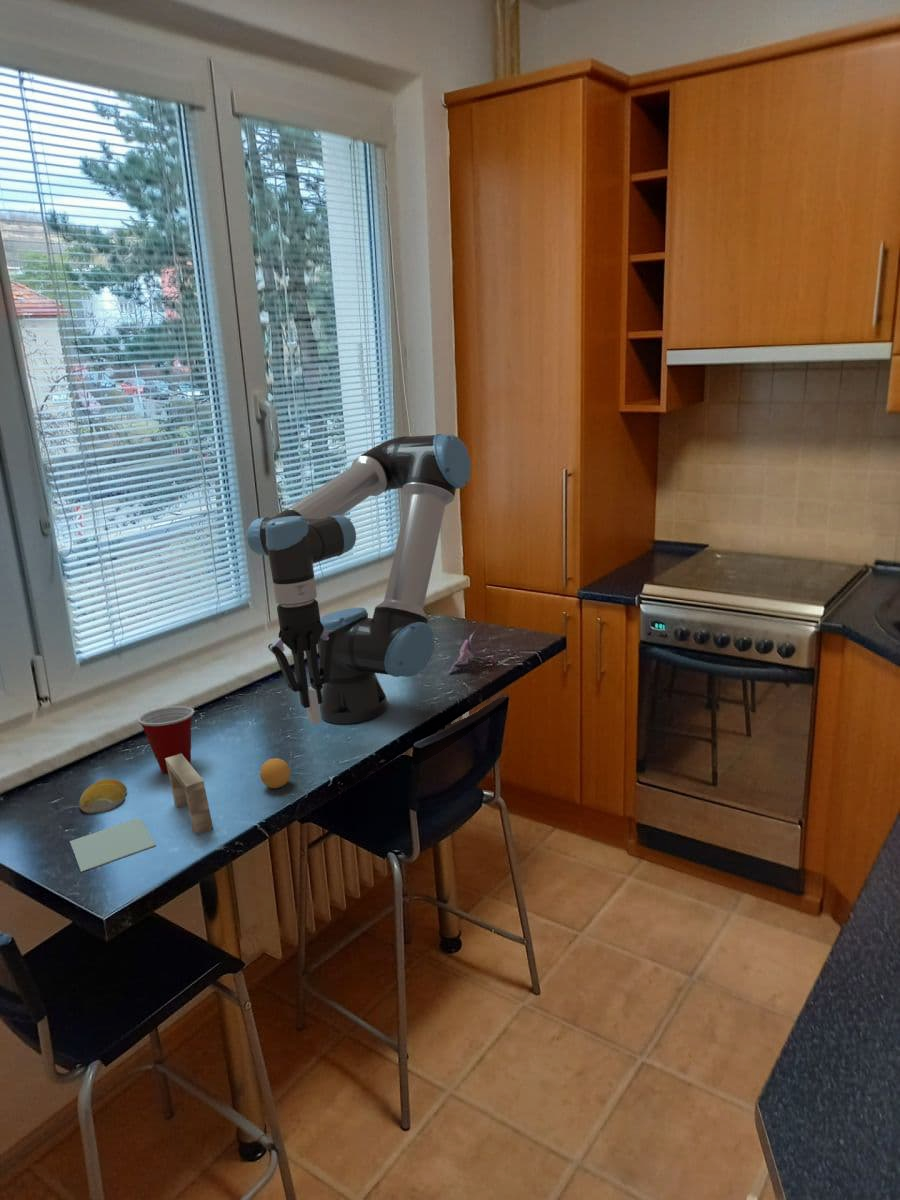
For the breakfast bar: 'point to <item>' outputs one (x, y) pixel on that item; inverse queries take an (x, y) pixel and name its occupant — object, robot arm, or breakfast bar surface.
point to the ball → (275, 773)
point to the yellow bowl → (102, 796)
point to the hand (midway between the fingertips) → (314, 721)
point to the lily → (465, 651)
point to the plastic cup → (168, 732)
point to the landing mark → (111, 844)
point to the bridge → (189, 792)
